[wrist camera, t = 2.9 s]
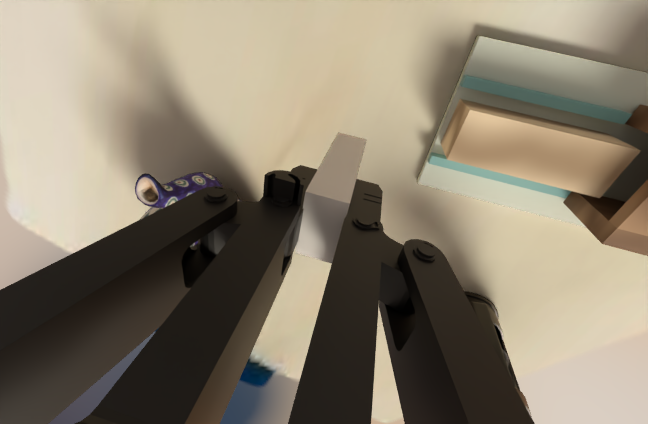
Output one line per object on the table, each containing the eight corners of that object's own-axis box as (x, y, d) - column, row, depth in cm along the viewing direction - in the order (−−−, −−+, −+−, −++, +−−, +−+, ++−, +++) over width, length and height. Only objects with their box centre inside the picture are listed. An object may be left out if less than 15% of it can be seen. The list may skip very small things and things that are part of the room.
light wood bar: (459, 98, 24) (469, 109, 21) (606, 133, 23) (641, 150, 20) (440, 143, 26) (446, 159, 23) (573, 176, 26) (599, 198, 22)
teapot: (278, 297, 45) (234, 398, 33) (189, 274, 46) (116, 363, 34) (285, 146, 31) (213, 226, 19) (158, 120, 32) (15, 179, 20)
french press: (481, 346, 41) (555, 619, 22) (414, 332, 42) (429, 578, 24) (514, 289, 35) (658, 607, 16) (433, 275, 36) (475, 551, 17)
